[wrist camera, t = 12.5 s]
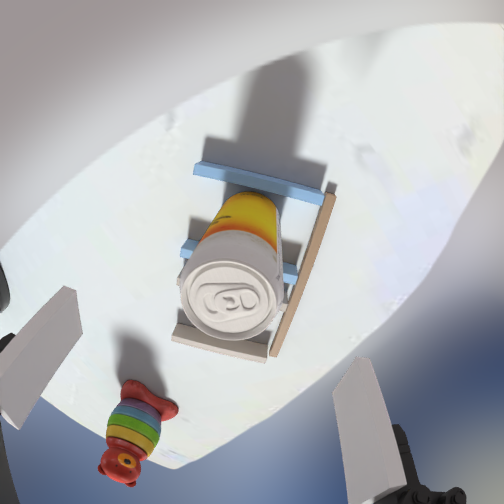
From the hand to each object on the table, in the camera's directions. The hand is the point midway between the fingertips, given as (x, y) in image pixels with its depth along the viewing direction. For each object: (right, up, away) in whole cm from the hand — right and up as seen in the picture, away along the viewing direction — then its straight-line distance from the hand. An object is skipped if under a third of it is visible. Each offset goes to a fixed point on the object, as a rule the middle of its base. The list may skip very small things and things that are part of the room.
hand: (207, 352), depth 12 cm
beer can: (+2, +8, +17) cm, 19 cm away
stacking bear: (-18, -23, +33) cm, 44 cm away
